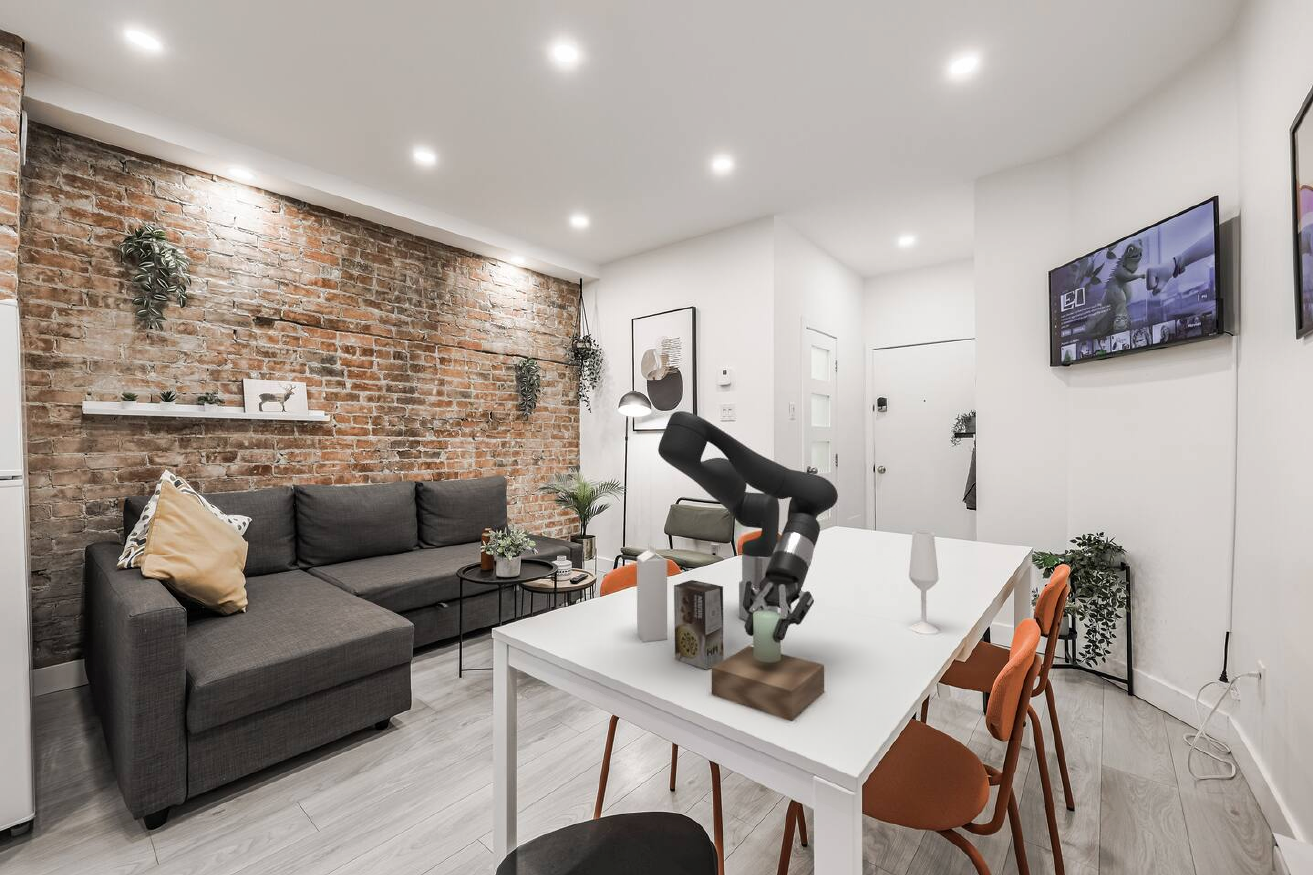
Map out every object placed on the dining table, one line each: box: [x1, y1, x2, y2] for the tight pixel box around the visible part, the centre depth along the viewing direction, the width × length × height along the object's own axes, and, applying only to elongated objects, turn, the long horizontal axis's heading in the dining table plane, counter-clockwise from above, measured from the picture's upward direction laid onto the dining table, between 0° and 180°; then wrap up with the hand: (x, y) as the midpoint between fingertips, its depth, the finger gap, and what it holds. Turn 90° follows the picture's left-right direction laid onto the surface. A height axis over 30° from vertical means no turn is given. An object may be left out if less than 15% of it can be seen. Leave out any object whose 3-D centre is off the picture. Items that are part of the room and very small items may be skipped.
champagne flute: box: [908, 530, 940, 635], centre depth 140 cm, size 7×7×24 cm
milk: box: [636, 543, 668, 643], centre depth 135 cm, size 6×6×22 cm
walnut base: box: [711, 645, 825, 722], centre depth 104 cm, size 16×14×5 cm
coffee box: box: [673, 579, 725, 670], centre depth 120 cm, size 9×6×16 cm
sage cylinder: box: [752, 610, 782, 662], centre depth 105 cm, size 5×5×8 cm
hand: (762, 636), depth 103 cm, fingers closed on sage cylinder, 5 cm apart
